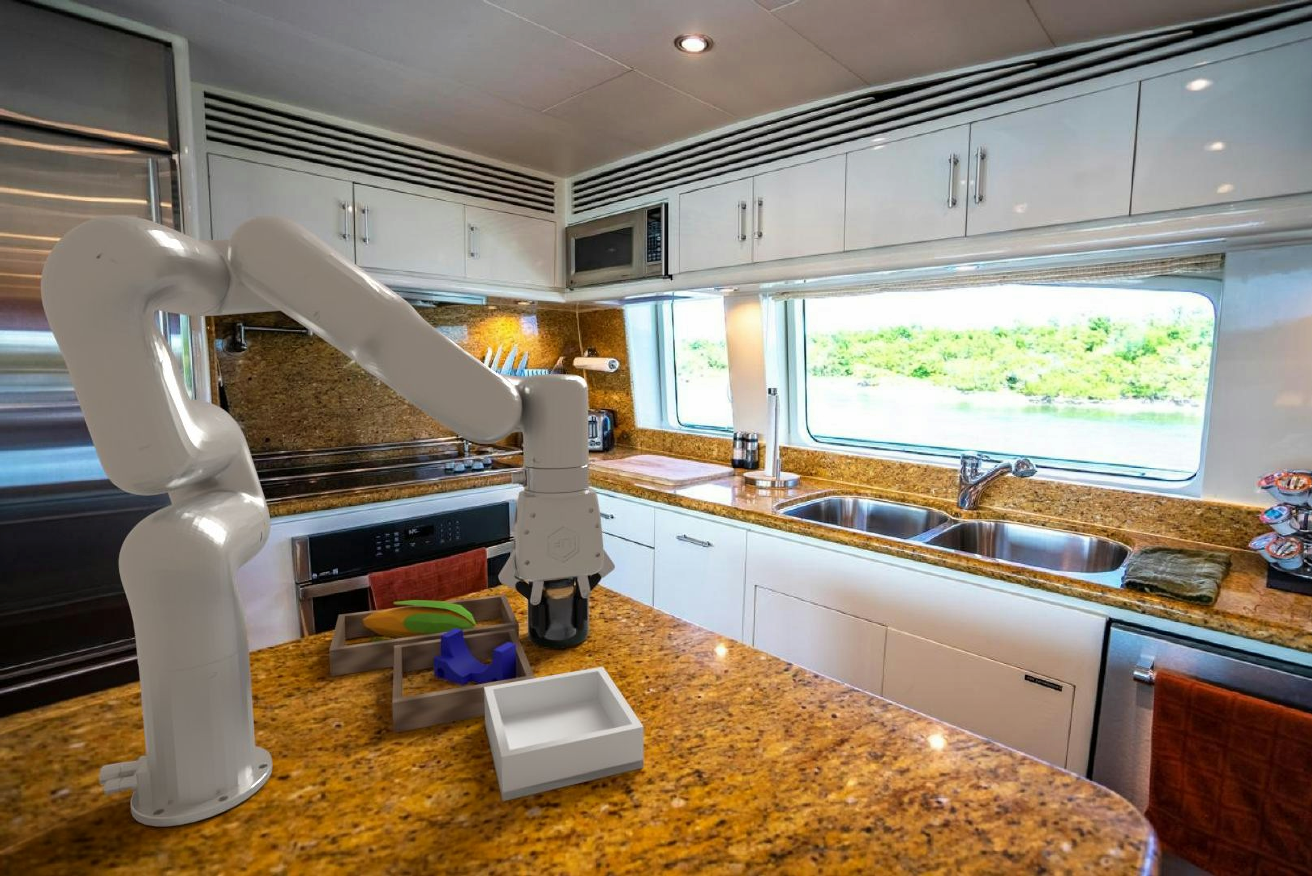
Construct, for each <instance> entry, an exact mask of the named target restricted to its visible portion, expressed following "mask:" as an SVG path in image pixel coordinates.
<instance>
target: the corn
mask: <svg viewBox="0 0 1312 876" xmlns="http://www.w3.org/2000/svg"><path fill="white" fill-rule="evenodd" d="M393 605H405V606H401V607H402V608H399V607H393V608H394V609H390V608H387V609H388V610H383V611H378V612H374V613H372V614H371V615H369V616H368V617H366V618H364V619H363V623H364V626H366V627H368V628H369V629H371V630H373V631H374V632H376V633H378V634H377V635H380V636H384V638H381V637H371V638H370V641H371V642H377V641H384V640H391V639H398V638H406V637H413V636H420V635H427V634H434V633H442V632H449V631H451V630H453V629H455V628H456V629H460V630H463V629H471V628H477V627H476V622H477V621H475V620H474V618H473V616H472V614H471V613H470V612H469V611H467V610H466V609H465V608H464V607H462V606H461V605H457V604H453V603H448V601H443V600H422V599H421V600H420V599H419V600H418V599H416V600H415V599H413V600H403V601H402V600H401V601H394V602H393ZM406 605H407V606H411V607H407V606H406ZM415 605H417V606H415ZM418 606H426V607H418ZM385 637H387V638H385Z"/></svg>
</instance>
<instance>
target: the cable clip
mask: <svg viewBox="0 0 1312 876" xmlns="http://www.w3.org/2000/svg"><path fill="white" fill-rule="evenodd" d="M433 676H434V677H435V678H438V679H441V680H445V681H449V682H451V683H455V684H458V685H461V686H462V687H465V686H466V685H468V684H469V683H471V682H472V683H475V684H476V683H477V685H478V684H484V683H490V682H496V681H502V680H508V679H513V678H517V675H516V644H513V643H510V642H507V643H505V644H503V645H501V646H500V647H498V648H496V649H494V654H493V658H492V660H491V662H490V664H486V663H482V662H481V661H480V660H477V659H475V658H474V657H473V656H472V654H471V653H470V652H469V650H468V648H467V646H466V644H465V641H464V637H463V630H460V629H456V628H455V629H453V630H451V631H449V632H447V633H444V634H442V635H441V655H439V656H437V657H435V658H434V668H433Z"/></svg>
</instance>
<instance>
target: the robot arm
mask: <svg viewBox="0 0 1312 876" xmlns="http://www.w3.org/2000/svg"><path fill="white" fill-rule="evenodd" d="M40 294H41V295H40V297H41V302H42V307H43V310H44V314H45V318H46V319H47V322H48V326H49V328H50V331H51V332H52V334H53V337H54V339H55V341H56V344H57V346H58V348H59V351H60V352H61V355H62V358H63V360H64V363H65V365H66V367H67V370H68V374H69V377H70V379H71V381H72V385H73V389H74V392H75V395H76V398H77V401H78V404H79V407H80V410H81V413H82V416H83V418H84V421H85V423H86V427H87V430H88V432H89V435H90V438H91V440H92V444H93V447H94V449H95V452H96V455H97V457H98V461H99V463H100V466H101V467H102V470H103V472H104V473H105V475H106V476H107V478H108V479H109V481H110V482H111V484H113V485H114V486H116V487H117V488H119V489H120V490H122V491H123V492H126V493H128V494H132V495H139V496H154V495H162V494H163V495H164V494H166V493H167V494H168V496H169V499H170V503H171V504H170V505H168V506H165V507H163V508H160V509H158V510H156V511H155V512H153V513H151V514H149V515H147V516H146V517H144V518H143V519H142V520H140V521H139V522H137V524H136V525H135V526H134V527H133V528H132V529H131V531H130V532H128V534H127V536H126V537H125V539H124V541H123V543H122V545H121V548H120V550H119V551H120V552H119V555H118V556H119V557H118V570H119V571H118V572H119V575H120V581H121V583H122V587H123V591H124V592H125V595H126V599H127V602H128V605H129V609H130V613H131V617H132V621H133V622H132V623H133V630H134V635H135V636H134V637H135V645H136V656H137V664H138V673H139V684H140V696H141V707H142V718H143V719H142V721H143V731H144V743H145V753H146V754H145V755H141V756H139V757H138V758H137V760H132V761H127V762H126V761H122V762H116V763H111V764H106V765H103V766H102V767H101V769H100V771H99V775H98V781H99V783H98V784H99V785H100V786H104V787H103V794H104V795H106V796H107V795H112V794H116V793H122V792H124V791H128V790H132V791H133V793H132V796H131V798H130V813H131V815H132V817H133V819H135V821H137V822H138V823H141V824H142V825H145V826H152V827H173V826H175V827H176V826H182V825H186V824H191V823H196V822H198V821H199V822H200V821H202V820H206V819H209V818H212V817H214V816H217V815H218V814H221V813H224V812H225V811H228V810H230V809H232V808H234V807H236V806H238V805H239V804H241V803H243V802H244V801H246V800H247V799H249V798H250V797H251V796H253V795H254V794H256V793H257V791H259V790H260V789H261V788H262V787H263V786H264V785H265V784H266V782H267V781H268V780H269V778H271V774H272V771H273V757H272V755H271V753H270V752H269V751H268V750H266V749H265V748H264V747H260V746H258V745H256V741H255V739H256V738H255V725H254V724H255V723H254V710H253V709H254V708H253V693H252V680H251V677H252V676H251V662H250V660H251V659H250V648H249V647H250V646H249V645H250V644H249V638H248V637H249V635H248V626H247V625H248V621H247V617H246V616H247V615H246V610H245V606H244V601H243V599H242V596H241V594H240V591H239V587H238V584H237V583H238V582H237V579H236V577H237V576H236V572H237V571H239V569H240V568H241V567H243V566H244V565H246V564H247V563H248V562H250V561H251V560H253V559H254V558H255V557H256V556H257V555H258V554H259V553H260V552H261V551H262V550H263V549H264V547H265V545H266V544H267V542H268V540H269V538H270V533H271V517H270V510H269V507H268V504H267V500H266V497H265V495H264V492H263V488H262V486H261V482H260V479H259V476H258V472H257V470H256V466H255V464H254V460H253V458H252V453H251V451H250V449H249V448H250V447H249V444H248V442H247V439H246V436H245V434H244V432H243V431H242V429H241V427H240V425H239V424H238V423H237V421H236V420H235V418H233V416H231V415H230V413H228V412H227V411H226V410H225V409H223V408H222V407H220V406H218V405H216V404H214V403H212V402H209V401H204V400H200V399H193V398H192V399H191V398H190V396H189V394H188V391H187V389H186V386H185V383H184V380H183V378H182V375H181V371H180V367H179V363H178V360H177V358H176V356H175V353H174V351H173V350H172V348H171V346H170V344H169V343H168V341H167V339H166V338H165V336H164V335H163V333H162V332H161V331H160V329H159V327H158V325H157V322H156V319H155V312H157V311H160V312H165V313H171V314H177V315H181V316H189V317H190V316H191V317H192V316H193V317H209V316H210V317H212V316H213V317H214V316H225V315H238V314H250V313H251V314H252V313H266V312H279V311H280V312H282V313H284V314H285V315H286V316H288V317H290V318H291V319H293V320H294V321H296V322H298V323H299V324H300V325H302V326H303V327H305V328H306V329H308V330H309V331H311V332H312V333H313V334H315V335H316V336H318V337H319V338H321V339H322V340H324V341H325V342H326V343H327V344H329V345H331V346H332V347H334V348H335V349H337V350H338V351H340V352H341V353H342V354H344V355H345V356H347V357H348V358H350V359H351V360H352V361H354V362H355V363H356V364H357V365H358V366H359V367H361V368H362V369H363V370H364V371H366V372H367V373H369V374H371V375H372V376H374V377H375V378H376V379H378V380H380V381H381V382H382V383H384V384H385V385H386V386H388V387H389V388H390V389H391V390H393V391H394V392H395V393H397V394H398V395H399V396H401V397H402V398H403V399H405V400H407V402H408V403H411V405H413V406H415V407H416V408H418V409H419V410H420V411H422V412H423V413H425V414H426V415H428V416H430V417H431V418H432V419H434V420H435V421H437V422H438V423H440V424H441V425H443V426H444V427H446V428H447V429H449V430H450V431H452V432H453V433H455V434H456V435H458V436H460V437H461V438H463V439H465V440H468V441H469V442H470V441H471V442H473V443H476V444H481V445H482V444H484V445H487V444H496V443H498V442H501V441H502V440H505V439H506V438H508V437H509V436H510V435H511V434H513V433H522V435H523V443H522V444H523V464H522V468H521V469H520V470H518V471H516V472H513V471H512V472H511V474H510V476H511V477H510V479H511V483H512V485H517V484H518V485H519V486H520V485H521V486H522V487H523V488H524V489H523V490H521V491H519V492H518V497H517V502H516V507H515V518H514V527H513V545H512V546H513V550H512V553H511V554H510V556H509V558H508V559H507V561H506V562H505V564H504V565H503V567H502V569H501V570H500V572H499V574H498V580H499V582H500V583H501V584H502V585H504V586H507V587H509V588H511V589H513V590H515V591H517V592H518V593H519V594H520V595H521V596H523V597H524V598H525V599H526V600H529V601H530V625H531V628H535V630H536V632H537V634H538V636H539V637H544V635H546V625H545V604H544V603H543V602H542V597H541V595H542V589H543V583H544V581H548V580H557V579H565V578H573V577H575V582H576V593H575V606H576V629H577V630H578V631H583V630H584V623H583V621H586V620H587V598H588V597H590V596H591V594H592V593H591V592H592V591H593V590H594V589H595V588H596V586H597V585H598V584H599V583H600V582H601V580H602V579H603V578H605V577H606V576H608V575H609V574H610V573H611V572H613V571H614V570H615V568H616V566H615V564H614V562H613V561H612V559H611V557H610V556H609V555H608V553H607V552H606V550H605V549H604V539H603V527H602V518H601V511H600V506H599V505H600V504H599V498H598V494H597V490H595V489H593V488H592V487H590V466H589V459H590V458H589V454H590V453H589V451H590V450H589V447H590V446H589V388H588V383H587V381H586V379H585V378H583V377H582V376H579V375H577V374H564V373H563V374H561V373H558V374H556V373H554V374H552V373H551V374H549V373H547V374H546V373H545V374H543V373H542V374H534V375H530V376H519V375H509V374H503V373H497V372H496V371H495V370H493V369H492V368H490V367H489V366H487V365H486V364H484V363H483V362H482V361H481V360H480V359H478V358H477V357H475V356H473V354H470V353H469V352H468V351H467V350H465V349H463V347H461V346H460V345H458V344H457V343H455V342H454V341H453V340H451V339H450V338H448V337H447V336H446V335H444V334H443V333H442V332H441V331H439V330H437V328H436V327H434V326H433V325H432V324H430V323H429V322H428V321H427V320H425V318H423V317H422V316H421V314H420V313H418V311H417V310H416V309H415V308H414V307H413V305H412V304H410V303H409V302H408V301H407V300H405V299H404V298H403V297H402V296H401V295H399V294H398V293H396V292H395V291H394V290H392V289H391V288H389V287H388V286H386V285H385V284H383V283H382V282H381V281H380V280H378V279H377V278H375V277H374V276H372V275H371V274H370V273H368V272H366V270H364V269H363V268H361V267H360V266H359V265H357V264H356V263H354V262H353V261H352V260H350V259H348V258H347V257H345V256H344V255H343V254H342V253H340V252H339V251H337V250H336V249H335V248H334V247H332V246H331V245H329V244H328V243H326V242H325V241H324V240H322V239H321V238H319V237H318V236H317V235H315V234H314V233H313V232H311V231H310V230H308V229H307V228H305V227H304V226H302V225H301V224H299V223H297V222H295V221H294V220H291V219H289V218H286V217H283V216H278V215H271V214H268V215H267V214H266V215H264V214H263V215H258V216H255V217H252V218H251V217H250V218H248V219H247V220H245V221H243V222H242V223H241V224H240V225H238V226H237V228H235V230H234V231H233V233H232V234H231V235H230V237H229V238H228V239H202V240H201V239H197V238H195V237H192V236H190V235H188V234H185V233H183V232H180V231H179V230H176V229H174V228H171V227H169V226H166V225H163V224H161V223H157V222H155V221H153V220H148V219H145V218H141V217H138V216H137V217H136V216H129V215H107V216H99V217H95V218H93V219H89V220H86V221H84V222H82V223H80V224H78V225H76V226H74V227H73V228H72V229H70V230H68V231H67V232H66V233H65V234H64V235H63V236H62V237H61V238H60V239H59V240H58V241H57V242H56V244H55V245H54V246H53V248H52V249H51V251H50V252H49V254H48V256H47V258H46V260H45V262H44V265H43V268H42V272H41V278H40ZM516 572H517V574H518V576H519V577H518V576H517V575H515V573H516ZM527 581H528V583H527Z"/></svg>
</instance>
